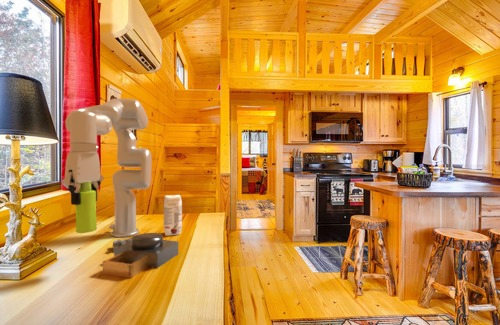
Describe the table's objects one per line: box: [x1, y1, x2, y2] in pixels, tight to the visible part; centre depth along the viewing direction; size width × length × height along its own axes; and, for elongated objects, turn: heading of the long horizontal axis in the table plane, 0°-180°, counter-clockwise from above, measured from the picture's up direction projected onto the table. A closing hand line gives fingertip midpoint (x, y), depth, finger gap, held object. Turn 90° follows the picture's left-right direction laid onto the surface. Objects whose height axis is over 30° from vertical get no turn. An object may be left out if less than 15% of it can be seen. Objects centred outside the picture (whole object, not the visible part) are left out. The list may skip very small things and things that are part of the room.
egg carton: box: [112, 237, 132, 253], centre depth 113 cm, size 11×8×4 cm
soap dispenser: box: [74, 181, 98, 234], centre depth 90 cm, size 6×7×20 cm
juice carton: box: [163, 194, 183, 237], centre depth 134 cm, size 8×9×19 cm
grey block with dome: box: [102, 232, 179, 279], centre depth 98 cm, size 18×23×8 cm
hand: (84, 202), depth 90 cm, fingers closed on soap dispenser, 5 cm apart
